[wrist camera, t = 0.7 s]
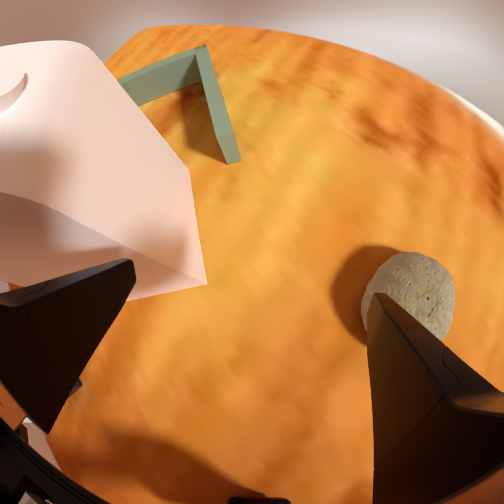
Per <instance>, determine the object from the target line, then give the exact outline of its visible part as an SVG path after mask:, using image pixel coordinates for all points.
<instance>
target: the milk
mask: <svg viewBox="0 0 504 504" xmlns="http://www.w3.org/2000/svg"><path fill="white" fill-rule="evenodd" d="M121 258H128V259H131V260H133V262H134V267H135V273H136V283H135V285H134V287H133V289H132V291H131V292H130V294H129V296H128V298H127V300H126V301H130V300H134V299H139V298H144V297H149V296H154V295H159V294H163V293H168V292H173V291H177V290H182V289H187V288H191V287H196V286H200V285H205V284H207V280H206V274H205V269H204V263H203V258H202V252H201V246H200V240H199V234H198V227H197V221H196V215H195V208H194V201H193V194H192V187H191V180H190V172H189V170H188V168H187V167H186V166H185V165H184V163H183V162H182V161H181V160H180V158H179V157H178V156H177V155H176V153H175V152H174V151H173V150H172V149H171V147H170V146H169V145H168V144H167V142H166V141H165V140H164V139H163V137H162V136H161V135H160V134H159V132H158V131H157V130H156V129H155V127H154V126H153V125H152V124H151V122H150V121H149V120H148V119H147V117H146V116H145V115H144V114H143V112H142V111H141V110H140V109H139V108H138V106H137V105H136V104H135V103H134V101H133V100H132V99H131V98H130V96H129V95H128V94H127V93H126V91H125V90H124V89H123V88H122V86H121V85H120V84H119V83H118V81H117V80H116V79H115V78H114V77H113V75H112V74H111V73H110V72H109V70H108V69H107V68H106V67H105V65H104V64H103V63H102V62H101V60H100V59H99V58H98V57H97V56H96V54H95V53H94V52H92V50H90V49H89V48H88V47H87V46H84V45H82V44H80V43H77V42H72V41H40V42H30V43H21V44H14V45H8V46H2V47H0V280H1V281H5V282H8V283H12V284H15V285H19V286H23V287H27V286H30V285H34V284H37V283H40V282H44V281H47V280H51V279H53V278H57V277H60V276H63V275H66V274H70V273H73V272H76V271H80V270H83V269H86V268H90V267H93V266H96V265H100V264H103V263H107V262H110V261H114V260H117V259H121Z"/></svg>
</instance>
